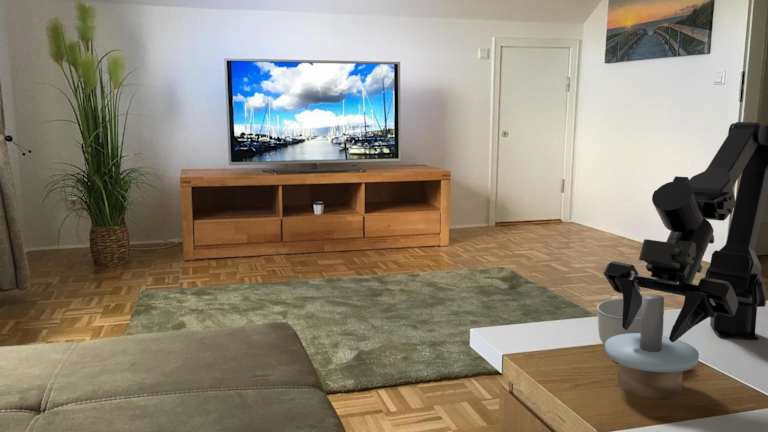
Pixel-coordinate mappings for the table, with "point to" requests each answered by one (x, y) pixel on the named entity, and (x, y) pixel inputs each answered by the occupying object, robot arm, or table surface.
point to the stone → (649, 382)
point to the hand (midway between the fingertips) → (647, 334)
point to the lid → (651, 343)
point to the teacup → (615, 319)
